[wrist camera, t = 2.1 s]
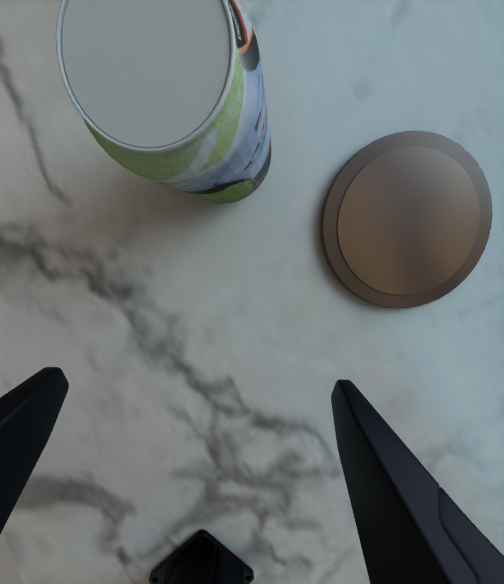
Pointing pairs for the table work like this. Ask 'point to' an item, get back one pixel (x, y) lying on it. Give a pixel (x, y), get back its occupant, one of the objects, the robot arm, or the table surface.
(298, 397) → the table surface
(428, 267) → the coaster
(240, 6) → the beverage can
